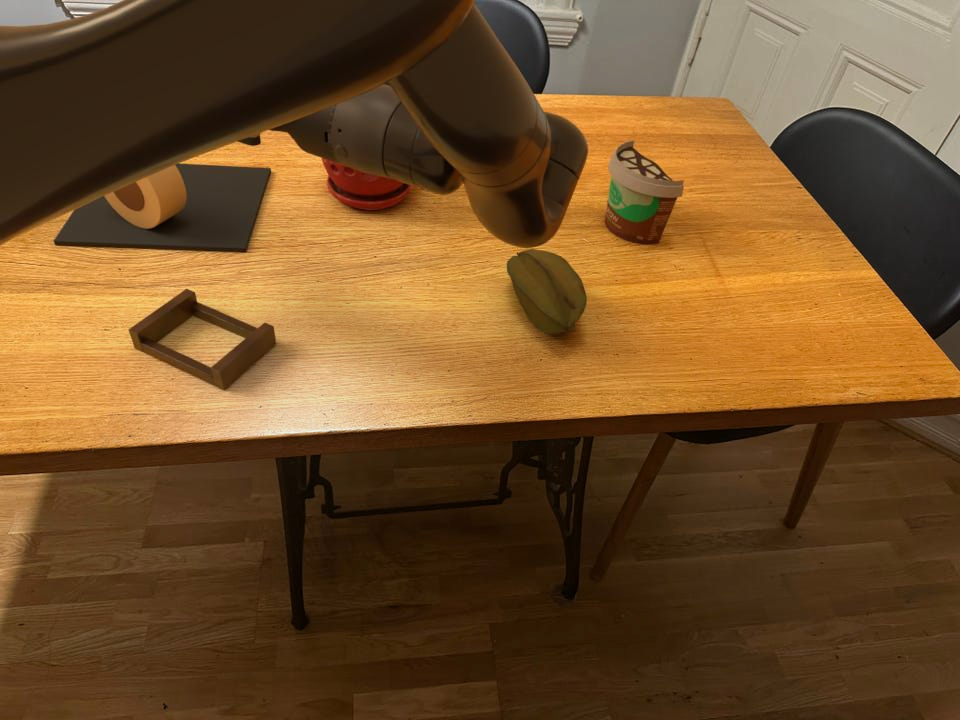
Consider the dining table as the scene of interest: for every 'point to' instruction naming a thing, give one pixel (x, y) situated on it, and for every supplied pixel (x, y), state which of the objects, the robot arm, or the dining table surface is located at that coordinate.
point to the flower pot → (363, 187)
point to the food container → (639, 196)
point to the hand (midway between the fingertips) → (211, 76)
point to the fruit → (547, 290)
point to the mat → (181, 214)
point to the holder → (187, 305)
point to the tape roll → (150, 198)
